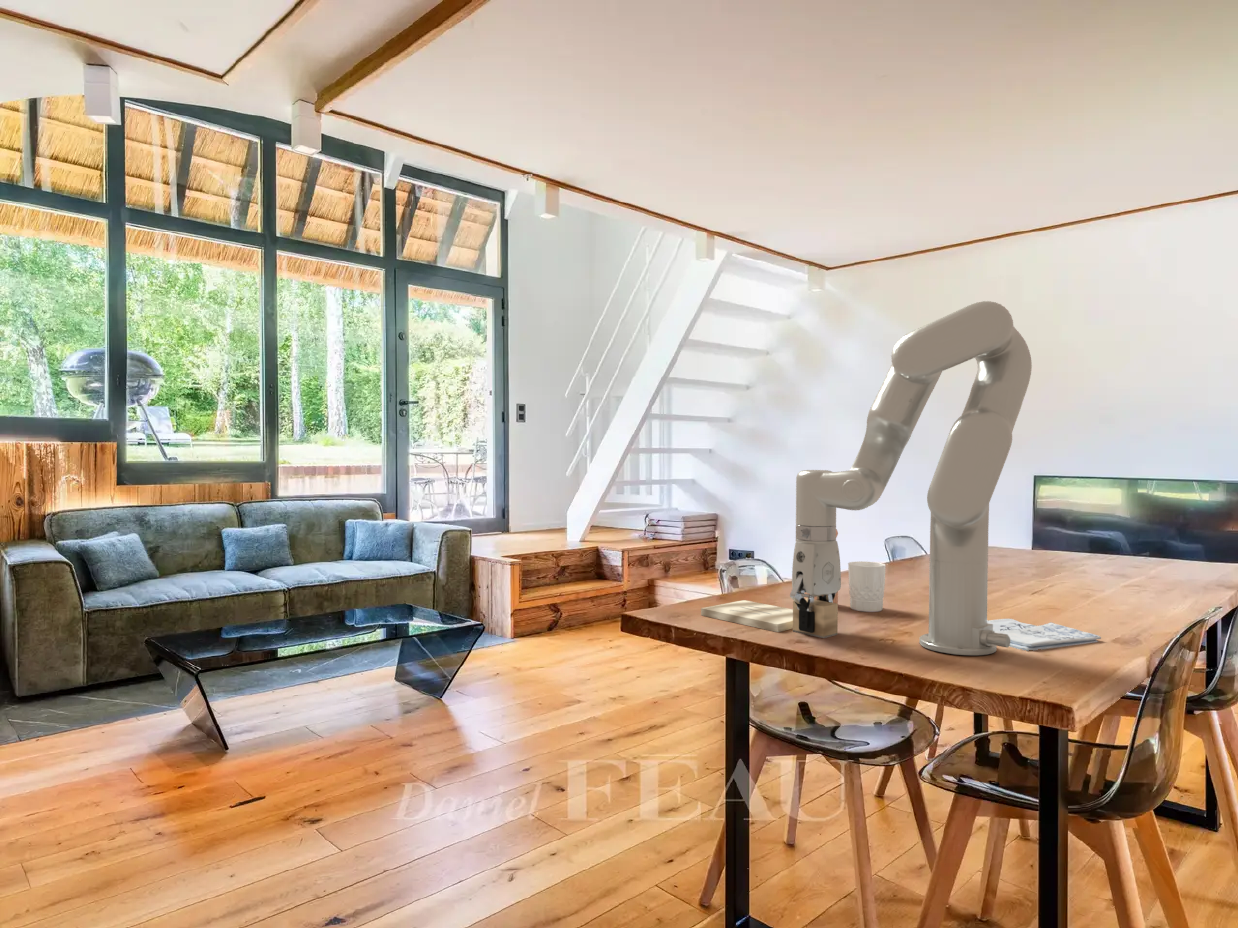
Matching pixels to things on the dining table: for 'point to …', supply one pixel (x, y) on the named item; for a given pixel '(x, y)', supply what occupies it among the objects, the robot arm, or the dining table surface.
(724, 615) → the board
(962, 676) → the dining table surface
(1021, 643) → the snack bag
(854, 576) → the white cup
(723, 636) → the dining table surface
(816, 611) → the block
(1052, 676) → the dining table surface
